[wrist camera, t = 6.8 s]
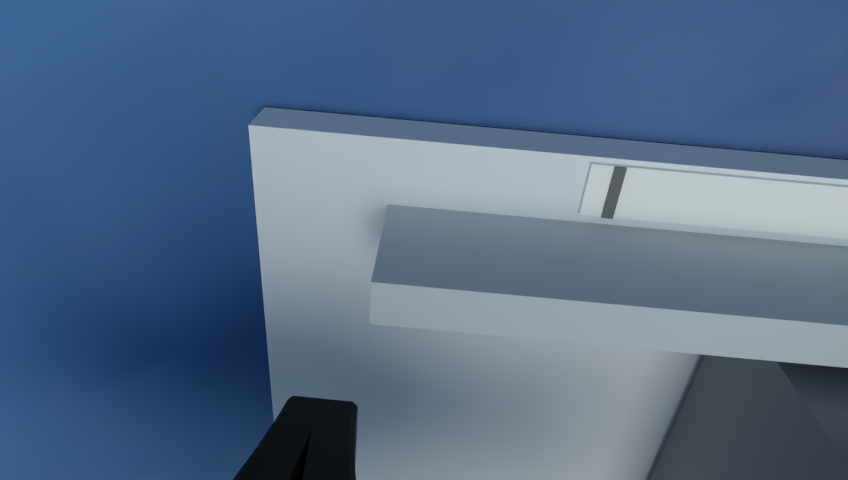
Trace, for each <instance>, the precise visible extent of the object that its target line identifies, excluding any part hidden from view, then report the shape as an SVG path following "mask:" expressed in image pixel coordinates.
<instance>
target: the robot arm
mask: <svg viewBox="0 0 848 480" xmlns="http://www.w3.org/2000/svg"><path fill="white" fill-rule="evenodd" d="M357 413H358V406H357V405H356V404H355V403H354V402H351V401H341V400H331V399H322V398H312V397H302V396H292V397H290V398H289V399H288V400H287V401H286V403H285V405H284V407H283V408H282V410H281V412H280V413H279V415H278V416H277V418H276V420H275V421H274V423H273V424H272V426H271V427H270V429H269V430H268V432H267V433H266V435H265V436H264V438H263V439H262V441H261V442H260V444H259V445H258V446H257V448H256V449H255V451H254V452H253V454H252V455H251V456H250V458H249V459H248V460H247V462H246V463H245V464H244V466H243V467H242V468H241V470H240V471H239V472H238V474H237V475H236V476H235V478H234V479H233V480H356V474H355V460H356V437H357Z"/></svg>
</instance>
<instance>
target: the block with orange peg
mask: <svg viewBox="0 0 848 480" xmlns="http://www.w3.org/2000/svg"><path fill="white" fill-rule="evenodd" d="M650 480H848V368H843V367H832V366H821V365H810V364H800V363H789V362H778V361H767V360H756V359H745V358H734V357H723V356H712V355H705V356H704V358H703V361H702V363H701V365H700V367H699V370H698V372H697V374H696V376H695V379H694V381H693V383H692V386H691V388H690V390H689V392H688V395H687V397H686V399H685V401H684V404H683V406H682V408H681V410H680V413H679V415H678V417H677V419H676V422H675V424H674V426H673V428H672V431H671V433H670V435H669V437H668V440H667V442H666V444H665V447H664V449H663V451H662V453H661V456H660V458H659V460H658V462H657V465H656V467H655V469H654V471H653V474H652V476H651V478H650Z"/></svg>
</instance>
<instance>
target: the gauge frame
mask: <svg viewBox="0 0 848 480" xmlns="http://www.w3.org/2000/svg"><path fill="white" fill-rule="evenodd" d="M248 127H249V138H250V150H251V162H252V173H253V185H254V197H255V208H256V220H257V232H258V243H259V255H260V267H261V278H262V290H263V302H264V313H265V325H266V337H267V349H268V360H269V372H270V384H271V395H272V407H273V419H274V421H275V420H276V418H277V416H278V415H279V413H280V412H281V410H282V408H283V407H284V405H285V403H286V401H287V400H288V399H289V398H290V397H292V396H302V397H312V398H322V399H331V400H341V401H351V402H354V403H355V404H356V405H357V406H358V413H357V437H356V460H355V474H356V480H650V478H651V476H652V474H653V471H654V469H655V467H656V465H657V462H658V460H659V458H660V456H661V453H662V451H663V449H664V447H665V444H666V442H667V440H668V437H669V435H670V433H671V431H672V428H673V426H674V424H675V422H676V419H677V417H678V415H679V413H680V410H681V408H682V406H683V404H684V401H685V399H686V397H687V395H688V392H689V390H690V388H691V386H692V383H693V381H694V379H695V376H696V374H697V372H698V370H699V367H700V365H701V363H702V361H703V358H704V356H705V355H712V356H723V357H734V358H745V359H756V360H767V361H778V362H789V363H800V364H810V365H821V366H832V367H843V368H848V160H840V159H829V158H818V157H807V156H796V155H785V154H774V153H764V152H753V151H742V150H731V149H720V148H709V147H698V146H687V145H676V144H665V143H654V142H643V141H632V140H621V139H610V138H599V137H588V136H577V135H566V134H555V133H544V132H533V131H522V130H511V129H500V128H489V127H478V126H467V125H456V124H445V123H434V122H423V121H412V120H401V119H390V118H379V117H368V116H357V115H346V114H335V113H325V112H314V111H303V110H292V109H281V108H270V107H265V108H264V109H263V110H262V111H261V112H260V113H259V114H258V115H257V116H256V117H255V118H254V120H253V121H252V122H251V123H250V124H249V125H248Z"/></svg>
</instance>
